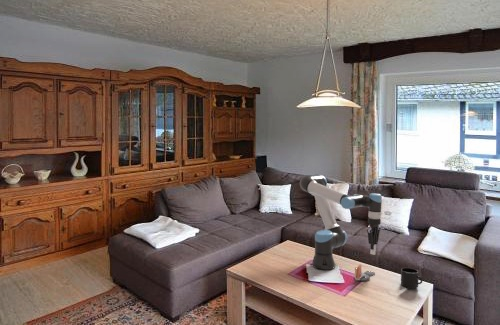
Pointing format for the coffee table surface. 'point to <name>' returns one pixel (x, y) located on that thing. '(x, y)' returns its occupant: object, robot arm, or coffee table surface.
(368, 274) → the pad
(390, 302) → the coffee table surface
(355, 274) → the crank base
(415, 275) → the mug
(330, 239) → the robot arm
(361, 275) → the crank
